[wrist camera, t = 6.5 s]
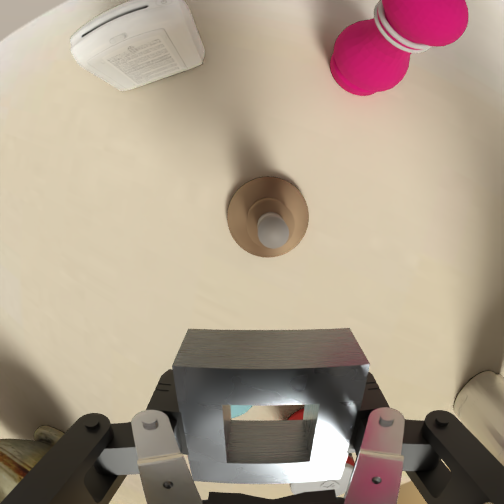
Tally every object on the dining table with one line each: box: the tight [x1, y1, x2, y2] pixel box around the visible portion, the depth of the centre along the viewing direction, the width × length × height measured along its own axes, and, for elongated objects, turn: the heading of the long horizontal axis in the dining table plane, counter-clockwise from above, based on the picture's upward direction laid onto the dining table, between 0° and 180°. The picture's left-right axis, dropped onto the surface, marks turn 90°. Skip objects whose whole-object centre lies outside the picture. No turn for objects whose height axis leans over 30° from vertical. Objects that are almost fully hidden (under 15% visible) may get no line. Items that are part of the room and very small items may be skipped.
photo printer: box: [70, 0, 205, 91], centre depth 23 cm, size 10×4×12 cm, turn 105°
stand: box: [227, 177, 309, 257], centre depth 28 cm, size 8×8×10 cm
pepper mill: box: [330, 0, 468, 96], centre depth 19 cm, size 7×7×20 cm
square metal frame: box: [172, 328, 370, 484], centre depth 11 cm, size 6×6×2 cm
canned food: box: [288, 408, 355, 496], centre depth 33 cm, size 8×8×11 cm
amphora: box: [0, 426, 65, 503], centre depth 28 cm, size 24×24×30 cm
